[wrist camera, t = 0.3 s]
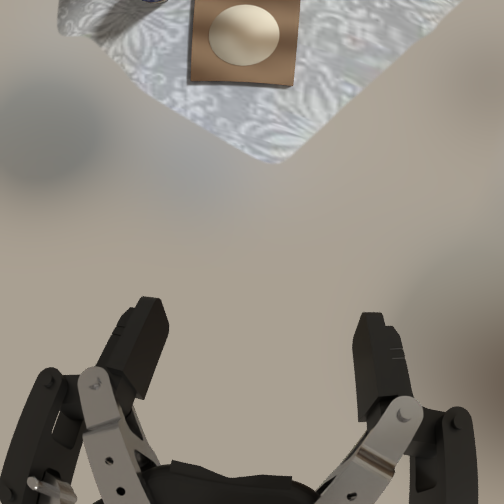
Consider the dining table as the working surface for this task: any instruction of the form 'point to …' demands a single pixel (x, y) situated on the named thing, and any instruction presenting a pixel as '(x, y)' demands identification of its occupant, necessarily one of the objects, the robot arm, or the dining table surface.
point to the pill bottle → (154, 1)
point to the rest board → (245, 40)
